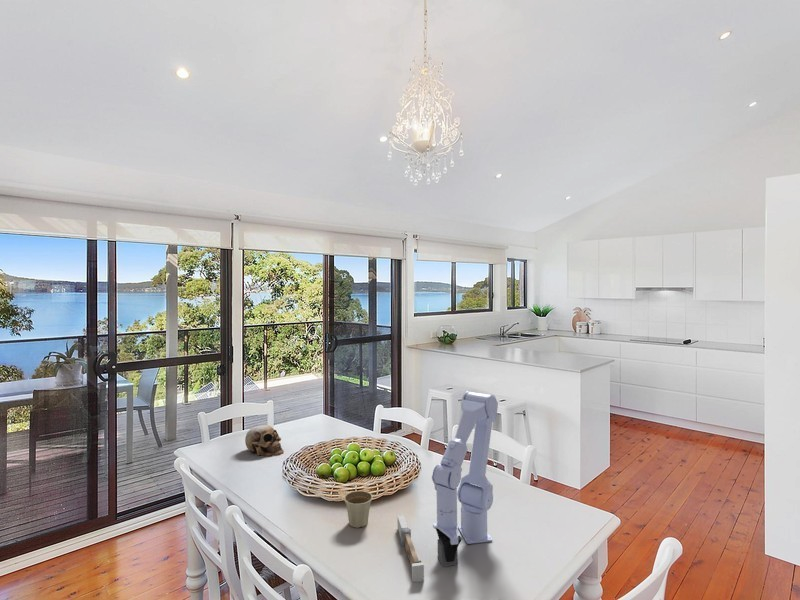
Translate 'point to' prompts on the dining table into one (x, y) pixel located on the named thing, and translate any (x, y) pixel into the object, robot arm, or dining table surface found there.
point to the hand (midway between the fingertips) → (447, 555)
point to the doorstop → (442, 555)
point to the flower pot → (358, 507)
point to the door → (411, 550)
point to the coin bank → (263, 441)
